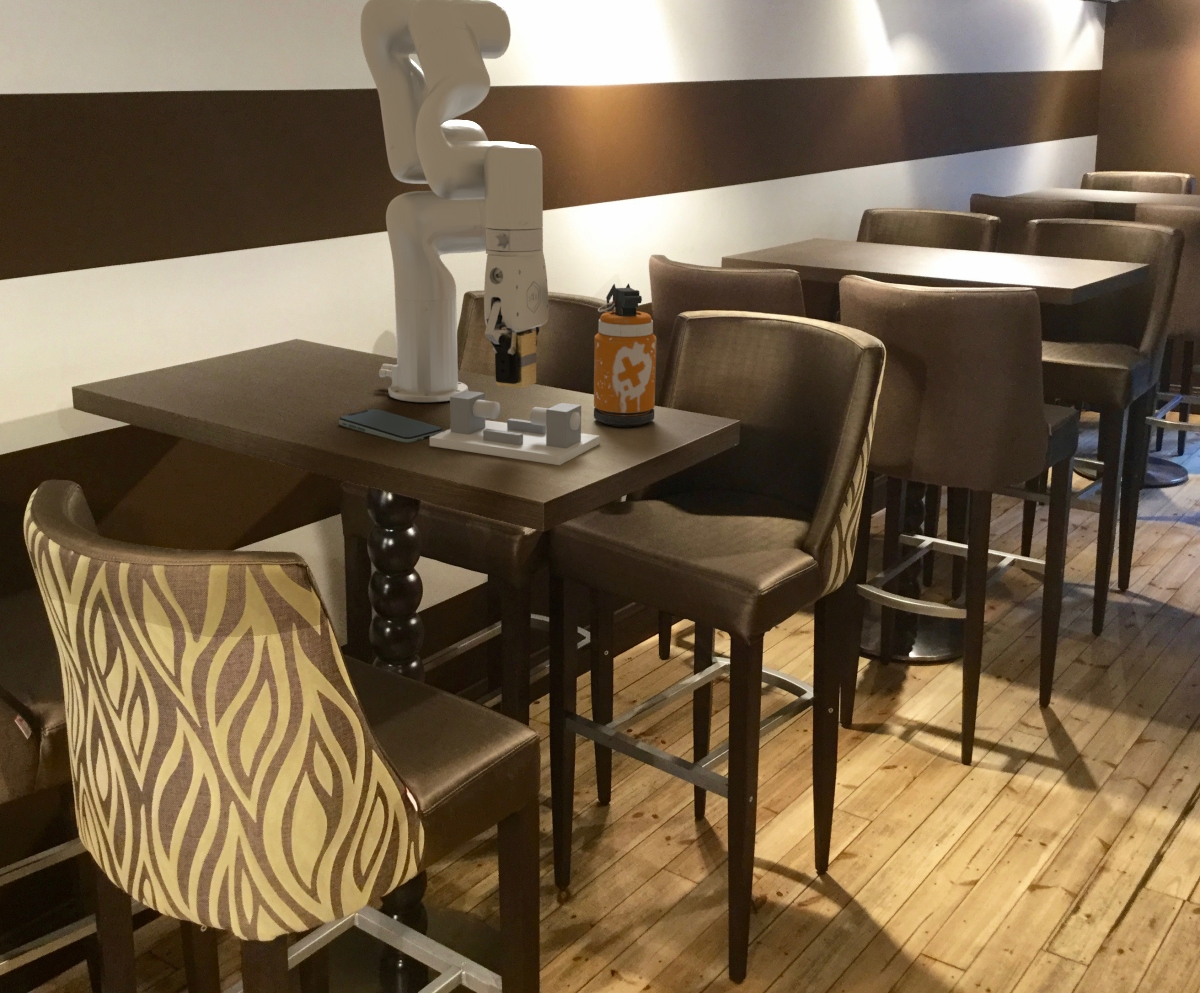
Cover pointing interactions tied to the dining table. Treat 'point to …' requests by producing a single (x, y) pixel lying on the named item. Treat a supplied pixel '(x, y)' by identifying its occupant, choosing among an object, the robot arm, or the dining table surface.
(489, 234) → the robot arm
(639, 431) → the dining table surface
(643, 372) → the canister
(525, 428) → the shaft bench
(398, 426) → the smartphone
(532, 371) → the block
